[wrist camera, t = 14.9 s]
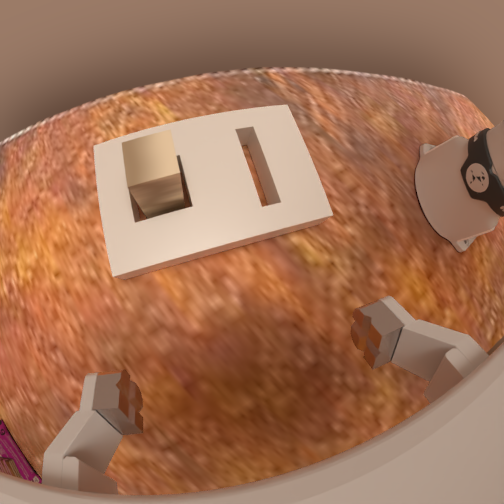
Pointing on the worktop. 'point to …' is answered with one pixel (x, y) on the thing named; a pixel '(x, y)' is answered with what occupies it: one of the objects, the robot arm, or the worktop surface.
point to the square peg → (153, 173)
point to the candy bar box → (14, 458)
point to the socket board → (212, 190)
